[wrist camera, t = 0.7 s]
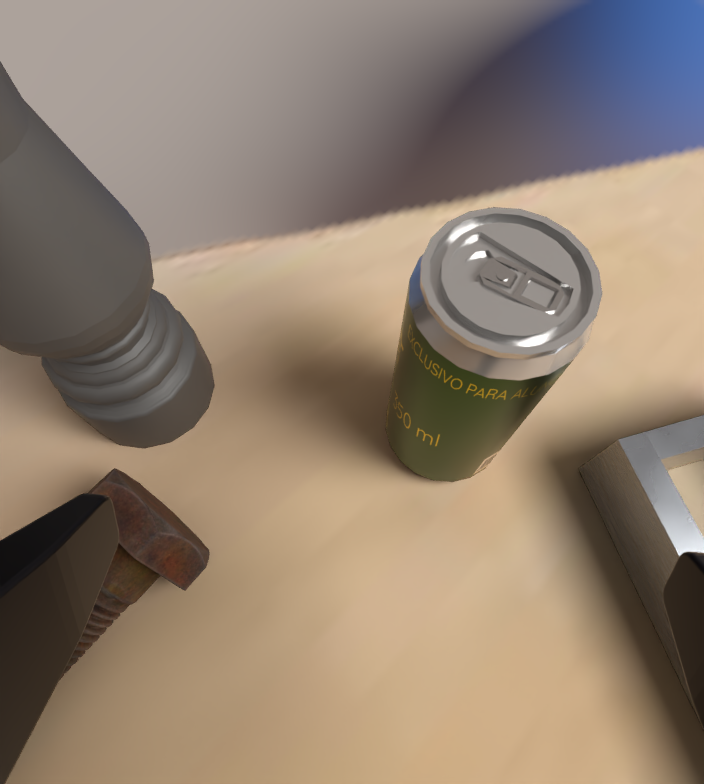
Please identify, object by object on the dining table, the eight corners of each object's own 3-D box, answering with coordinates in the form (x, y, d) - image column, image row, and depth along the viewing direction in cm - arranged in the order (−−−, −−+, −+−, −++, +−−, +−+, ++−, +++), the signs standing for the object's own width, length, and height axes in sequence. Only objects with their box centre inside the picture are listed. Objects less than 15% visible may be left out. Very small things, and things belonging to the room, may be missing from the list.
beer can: (515, 414, 26) (638, 251, 15) (465, 508, 24) (565, 400, 13) (418, 362, 27) (466, 175, 16) (363, 448, 25) (375, 301, 14)
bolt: (-106, 813, 21) (180, 515, 25) (-95, 947, 17) (234, 574, 22) (-283, 793, 17) (91, 445, 21) (-316, 961, 13) (139, 502, 18)
